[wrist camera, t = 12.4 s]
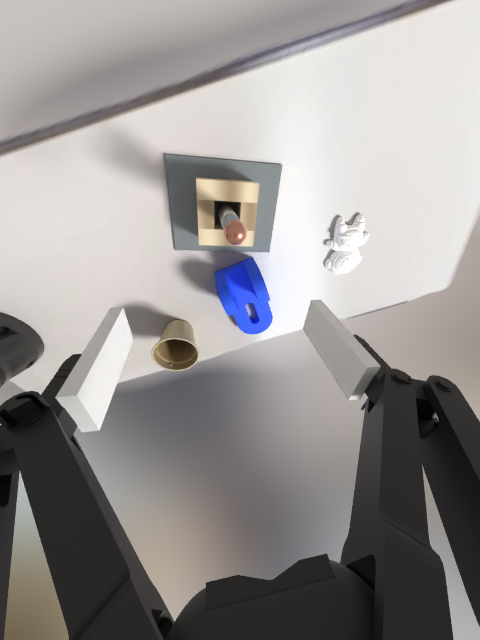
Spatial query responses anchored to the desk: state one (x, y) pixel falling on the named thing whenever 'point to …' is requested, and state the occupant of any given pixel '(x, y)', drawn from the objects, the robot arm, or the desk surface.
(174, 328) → the flower pot
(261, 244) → the mat
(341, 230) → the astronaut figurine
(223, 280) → the bracket
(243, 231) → the copper-tipped rod
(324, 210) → the desk surface
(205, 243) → the block with square hole
